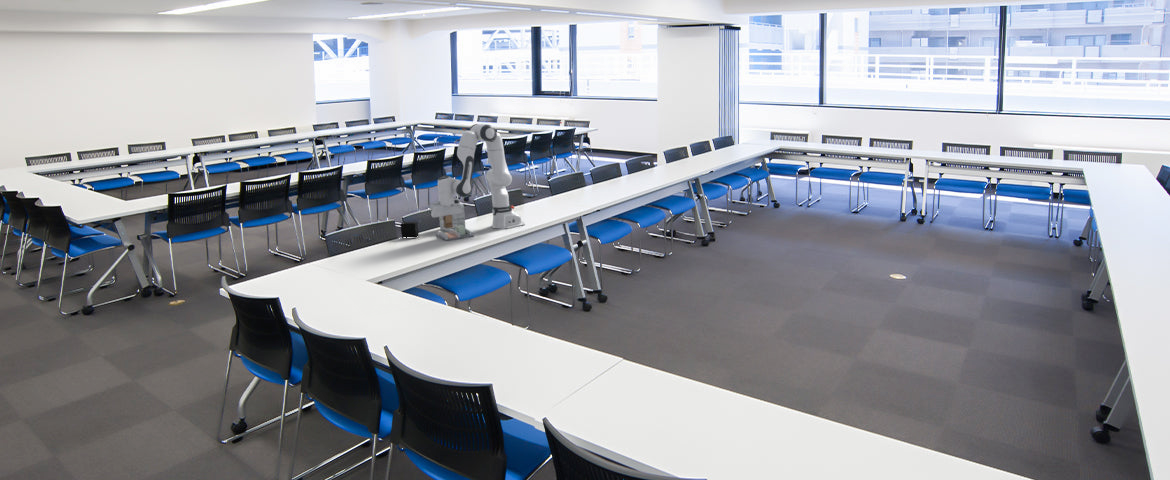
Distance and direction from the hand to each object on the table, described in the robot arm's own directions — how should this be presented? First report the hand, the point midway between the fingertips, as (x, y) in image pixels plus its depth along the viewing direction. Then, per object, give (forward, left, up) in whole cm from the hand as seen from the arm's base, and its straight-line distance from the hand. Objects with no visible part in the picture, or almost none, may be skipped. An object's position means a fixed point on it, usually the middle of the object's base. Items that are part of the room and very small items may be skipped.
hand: (447, 222), depth 489 cm
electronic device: (+21, -16, -10) cm, 28 cm away
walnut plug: (0, 0, -3) cm, 3 cm away
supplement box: (-10, -21, -10) cm, 25 cm away
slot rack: (-4, 0, -10) cm, 11 cm away
